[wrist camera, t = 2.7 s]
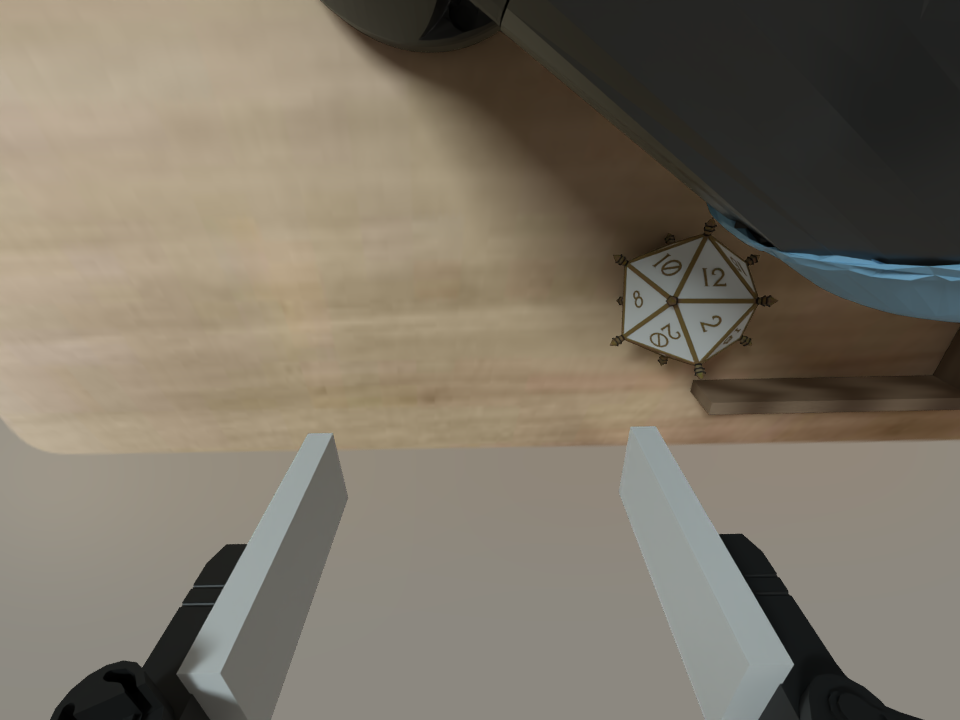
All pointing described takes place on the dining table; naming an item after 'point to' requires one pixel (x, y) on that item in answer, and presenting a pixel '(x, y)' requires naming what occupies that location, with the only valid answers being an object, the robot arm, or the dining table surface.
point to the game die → (688, 299)
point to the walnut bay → (836, 392)
